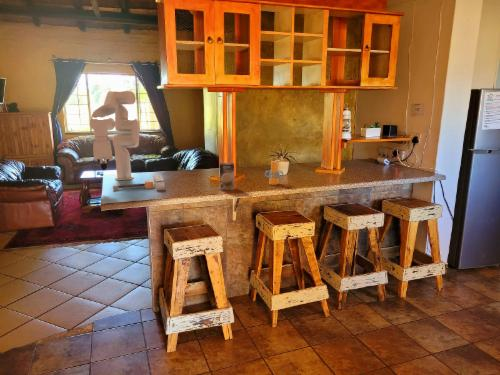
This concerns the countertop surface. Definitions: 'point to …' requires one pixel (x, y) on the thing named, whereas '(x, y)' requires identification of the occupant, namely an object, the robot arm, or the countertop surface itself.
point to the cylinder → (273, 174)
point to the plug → (134, 185)
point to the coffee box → (226, 176)
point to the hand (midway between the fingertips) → (104, 169)
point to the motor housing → (158, 182)
